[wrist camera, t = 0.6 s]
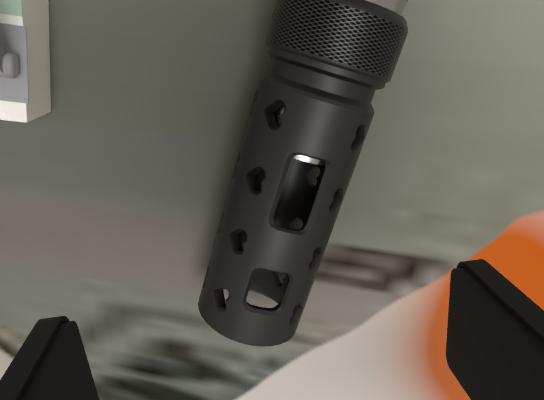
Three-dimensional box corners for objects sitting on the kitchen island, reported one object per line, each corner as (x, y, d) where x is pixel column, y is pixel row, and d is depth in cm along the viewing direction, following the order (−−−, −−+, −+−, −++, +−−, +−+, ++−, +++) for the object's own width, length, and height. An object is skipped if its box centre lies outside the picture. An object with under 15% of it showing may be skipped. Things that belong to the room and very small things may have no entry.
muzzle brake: (197, 272, 44) (191, 338, 34) (278, -32, 36) (301, -58, 26) (289, 290, 46) (308, 358, 36) (387, 5, 38) (445, -5, 28)
